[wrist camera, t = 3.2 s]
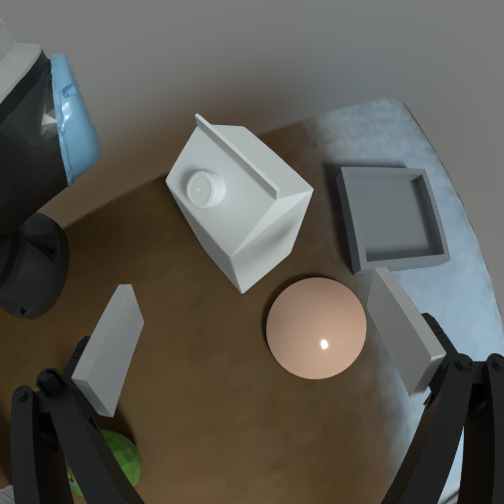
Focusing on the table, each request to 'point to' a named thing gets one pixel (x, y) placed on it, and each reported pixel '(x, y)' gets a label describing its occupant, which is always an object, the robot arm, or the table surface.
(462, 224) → the table surface
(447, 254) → the square tray
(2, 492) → the candy box
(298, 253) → the table surface
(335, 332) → the peach flat disc
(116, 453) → the avocado
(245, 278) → the milk carton
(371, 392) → the table surface
